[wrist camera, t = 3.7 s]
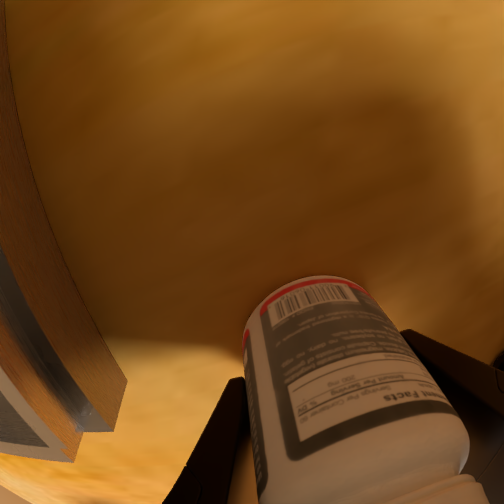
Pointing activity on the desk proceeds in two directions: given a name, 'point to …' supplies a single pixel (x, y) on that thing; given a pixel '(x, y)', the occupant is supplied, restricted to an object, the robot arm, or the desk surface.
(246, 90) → the desk surface
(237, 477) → the robot arm
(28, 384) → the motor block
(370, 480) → the pill bottle
